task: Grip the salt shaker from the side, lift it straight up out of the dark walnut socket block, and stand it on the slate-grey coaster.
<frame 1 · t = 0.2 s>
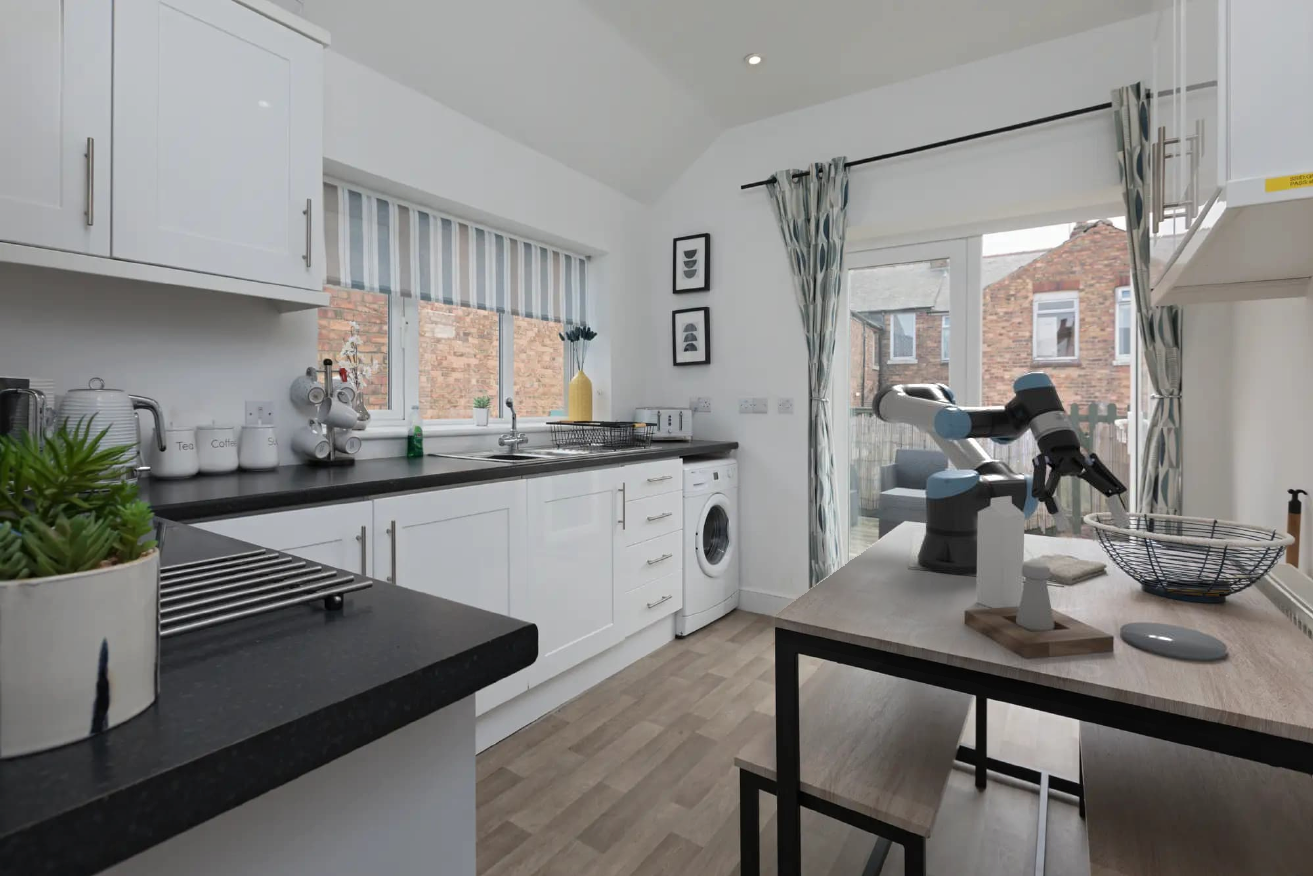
hand: (1094, 527, 129), 15 cm above the table, tool tilted 35°, fingers open, 13 cm apart
coaster: (1171, 643, 108), on the table
milk: (999, 605, 128), on the table
salt shaker: (1034, 637, 112), resting in socket block
socket block: (1034, 636, 112), on the table
washcloth: (1062, 575, 149), on the table
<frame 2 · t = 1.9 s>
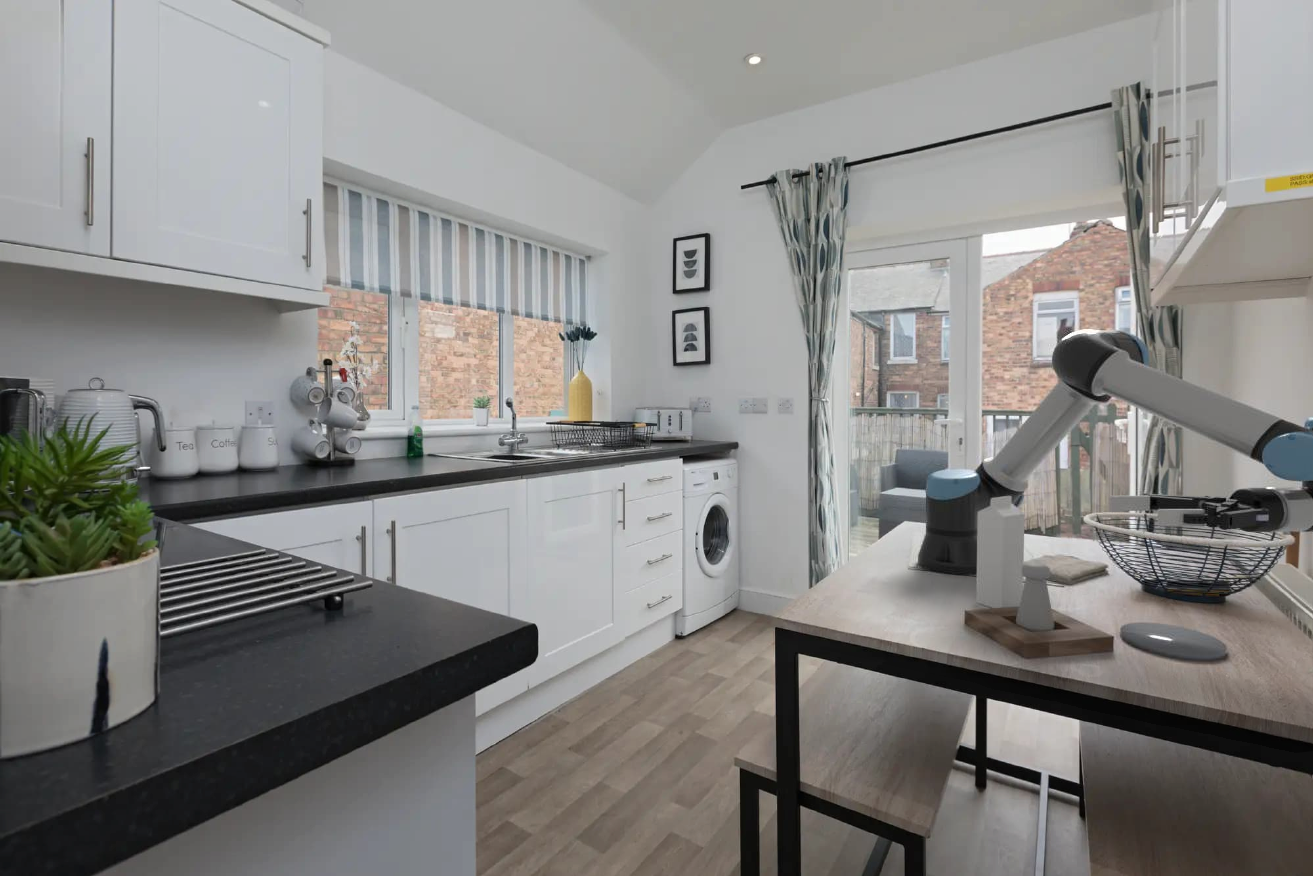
hand: (1132, 510, 111), 22 cm above the table, tool horizontal, fingers open, 13 cm apart
nothing on the table moved.
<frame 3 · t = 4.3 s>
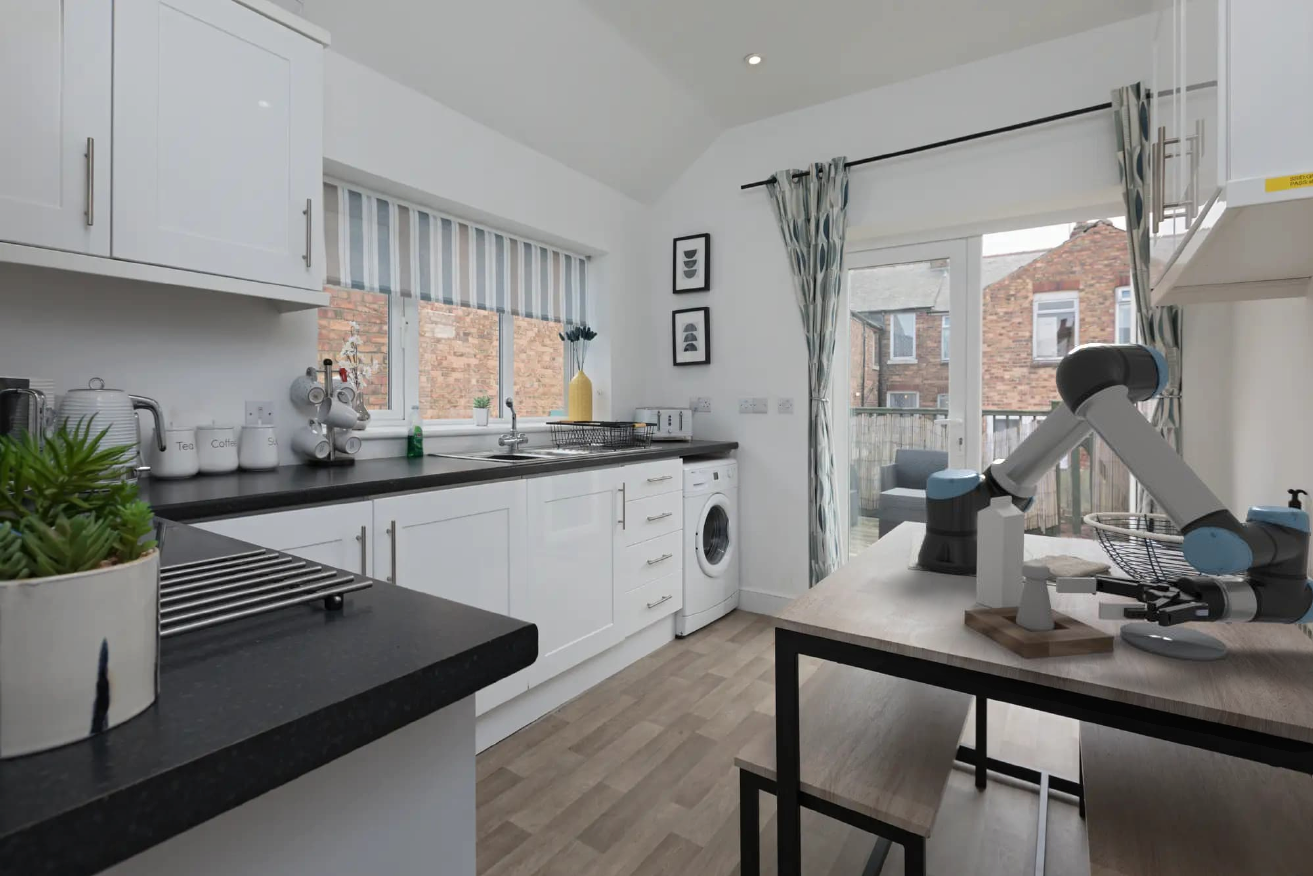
hand: (1076, 597, 110), 7 cm above the table, tool horizontal, fingers open, 13 cm apart
nothing on the table moved.
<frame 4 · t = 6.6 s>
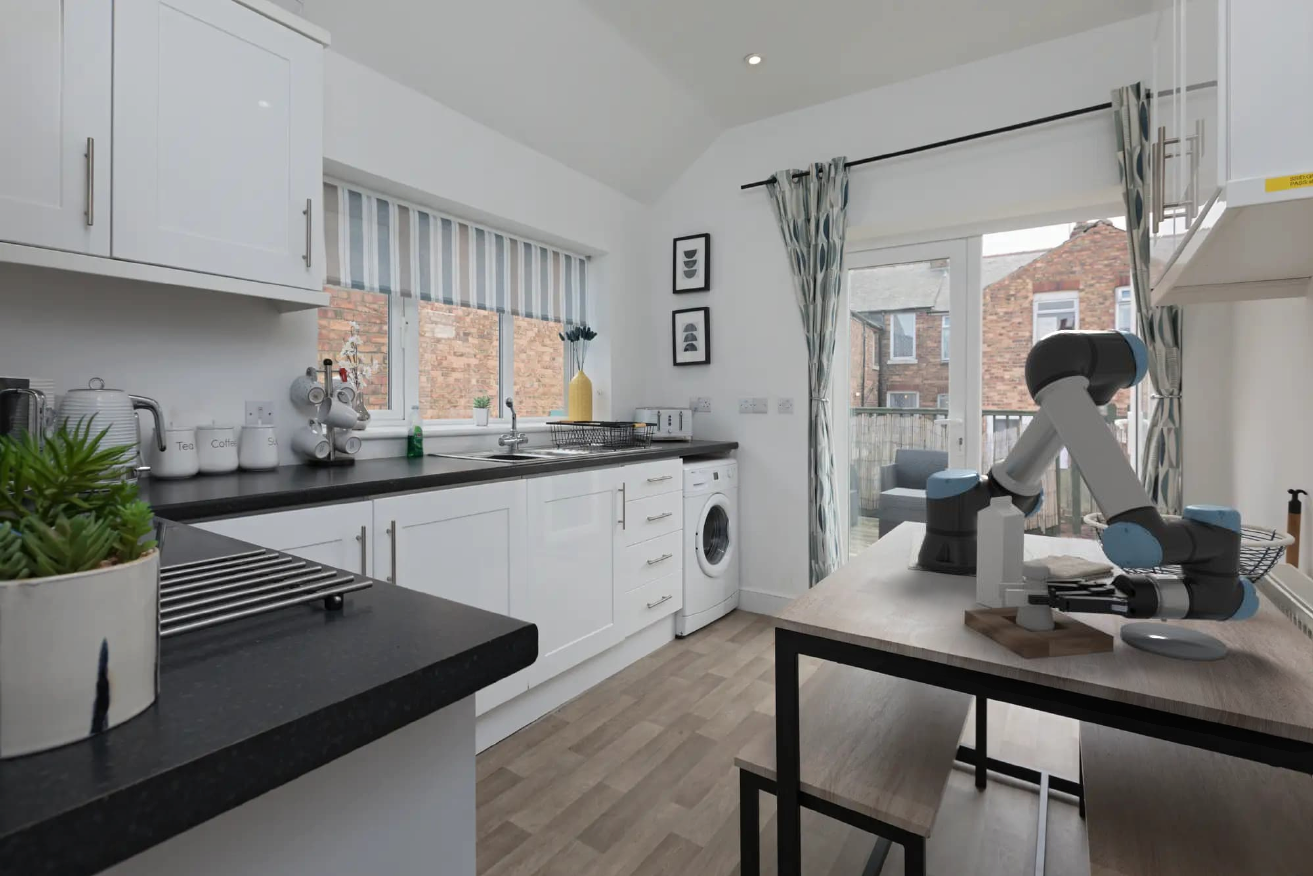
hand: (1002, 594, 112), 8 cm above the table, tool horizontal, fingers closed on salt shaker, 3 cm apart
salt shaker: (1034, 637, 112), resting in socket block, touching gripper
everything else where it was.
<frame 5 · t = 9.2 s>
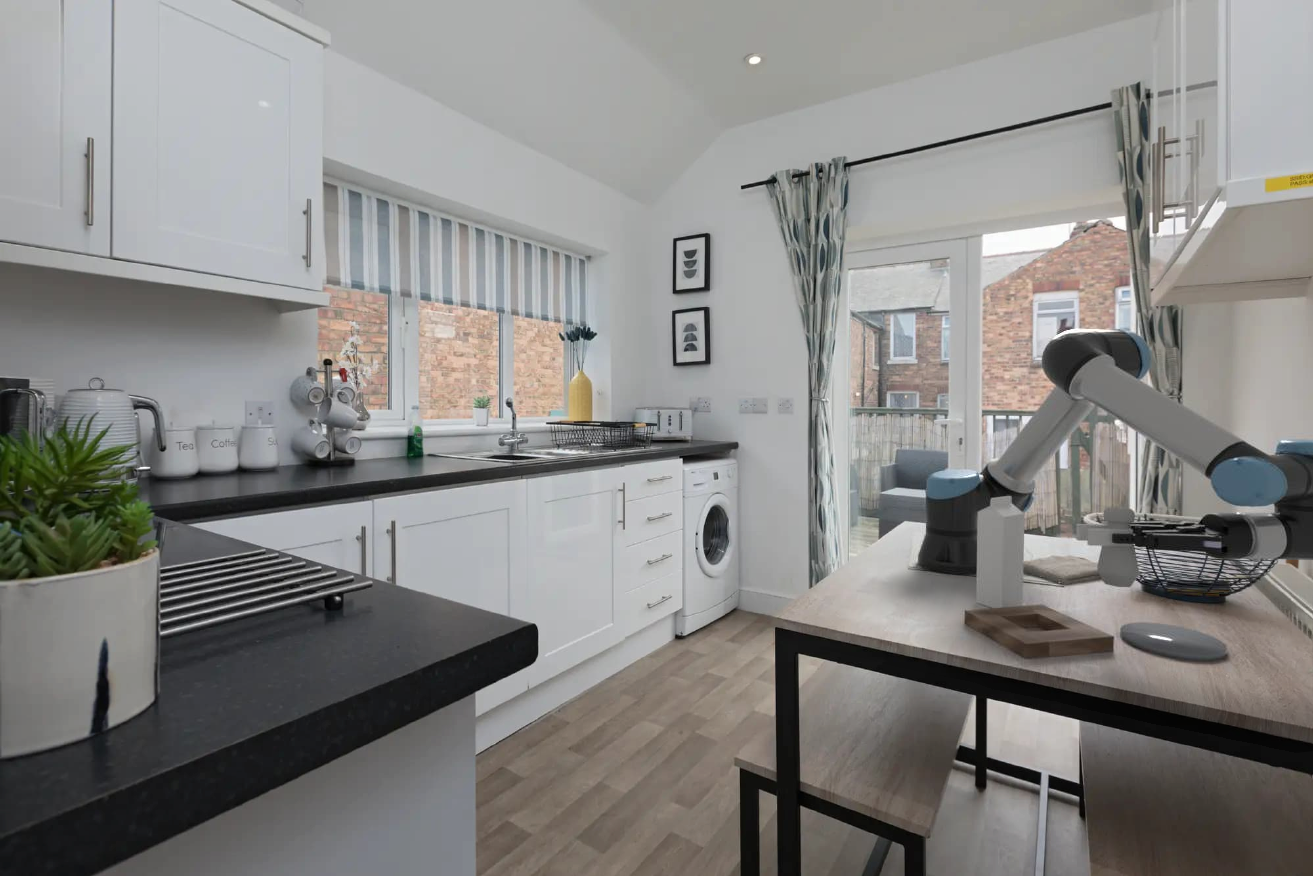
hand: (1083, 534, 108), 19 cm above the table, tool horizontal, fingers closed on salt shaker, 3 cm apart
salt shaker: (1117, 584, 107), point 10 cm above the table, touching gripper
when the fingers open (10 cm above the table, at t = 11.4 s): salt shaker stays where it is, resting on coaster.
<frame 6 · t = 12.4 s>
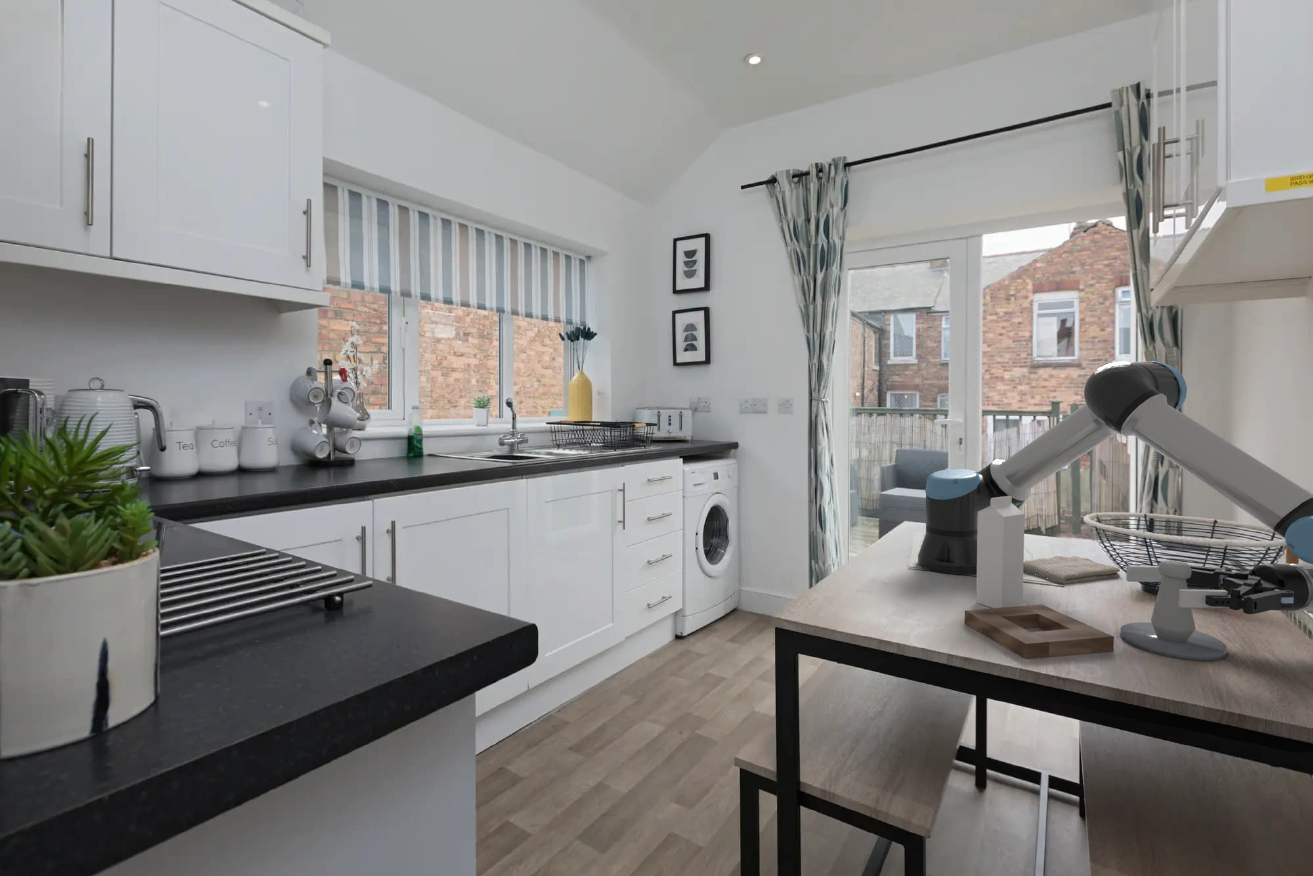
hand: (1152, 585, 108), 10 cm above the table, tool horizontal, fingers open, 13 cm apart
salt shaker: (1172, 638, 108), point 1 cm above the table, touching coaster
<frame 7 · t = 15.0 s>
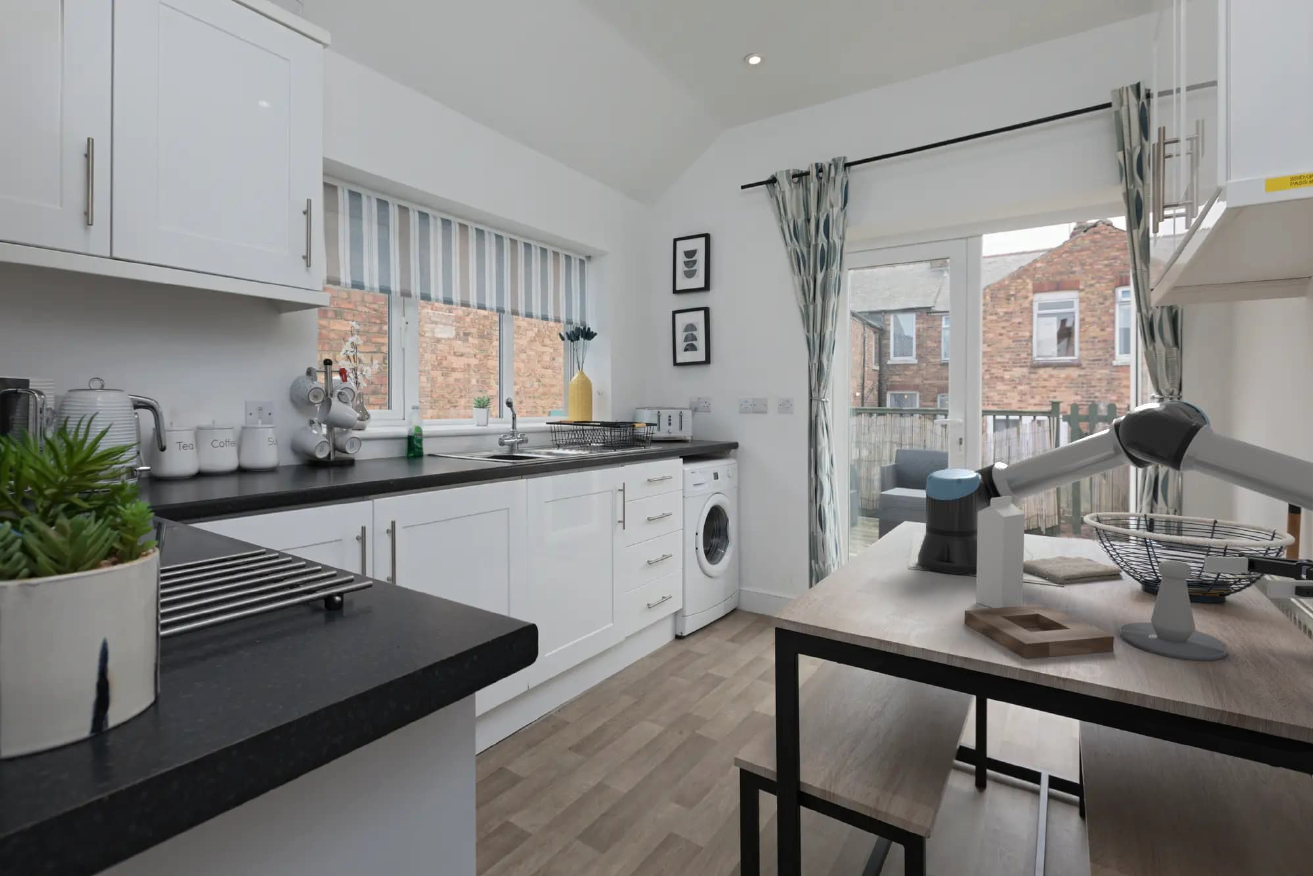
hand: (1235, 575, 107), 12 cm above the table, tool horizontal, fingers open, 13 cm apart
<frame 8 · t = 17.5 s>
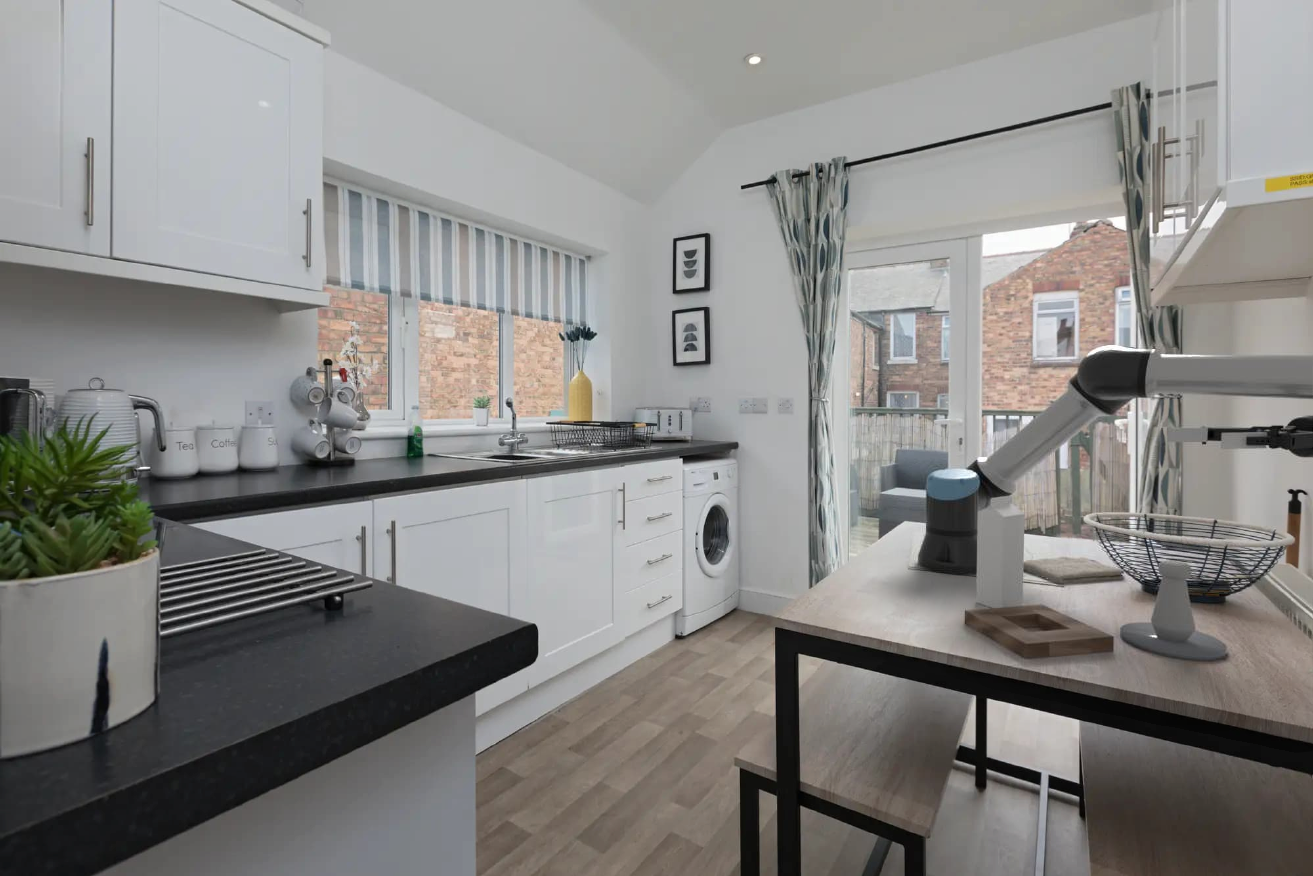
hand: (1194, 437, 116), 34 cm above the table, tool horizontal, fingers open, 13 cm apart
at the end: salt shaker 0.2 cm from the coaster (horizontally); salt shaker tilted 0°; the gripper is holding nothing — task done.
